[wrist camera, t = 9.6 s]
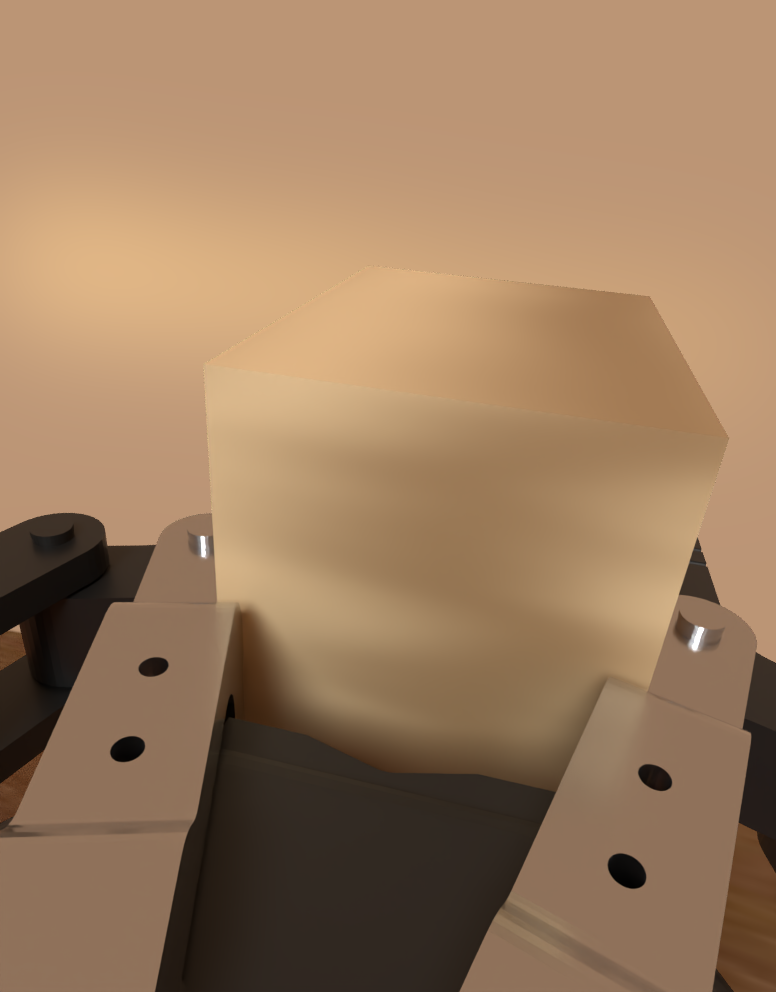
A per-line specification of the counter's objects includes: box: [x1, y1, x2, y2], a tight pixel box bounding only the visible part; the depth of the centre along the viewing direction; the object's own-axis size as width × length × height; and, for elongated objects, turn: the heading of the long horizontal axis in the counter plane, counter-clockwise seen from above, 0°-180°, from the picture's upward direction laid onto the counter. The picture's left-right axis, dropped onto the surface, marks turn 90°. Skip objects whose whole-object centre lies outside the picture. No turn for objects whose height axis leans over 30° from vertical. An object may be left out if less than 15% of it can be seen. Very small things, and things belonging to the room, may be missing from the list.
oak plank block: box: [203, 266, 729, 792], centre depth 11 cm, size 4×6×10 cm
